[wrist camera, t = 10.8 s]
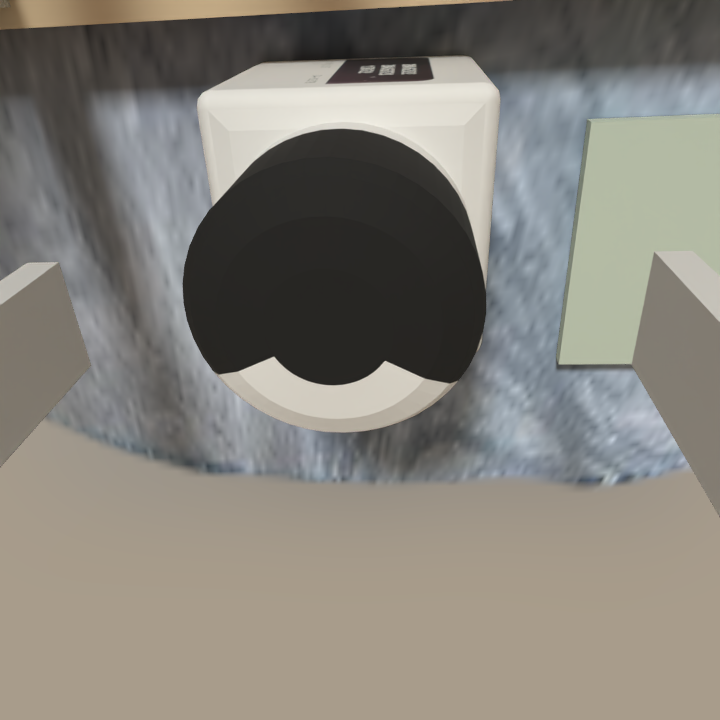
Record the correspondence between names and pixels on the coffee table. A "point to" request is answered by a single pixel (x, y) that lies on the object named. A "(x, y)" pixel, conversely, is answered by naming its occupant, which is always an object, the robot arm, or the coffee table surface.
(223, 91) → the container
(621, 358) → the pad
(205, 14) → the rail
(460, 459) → the coffee table surface
